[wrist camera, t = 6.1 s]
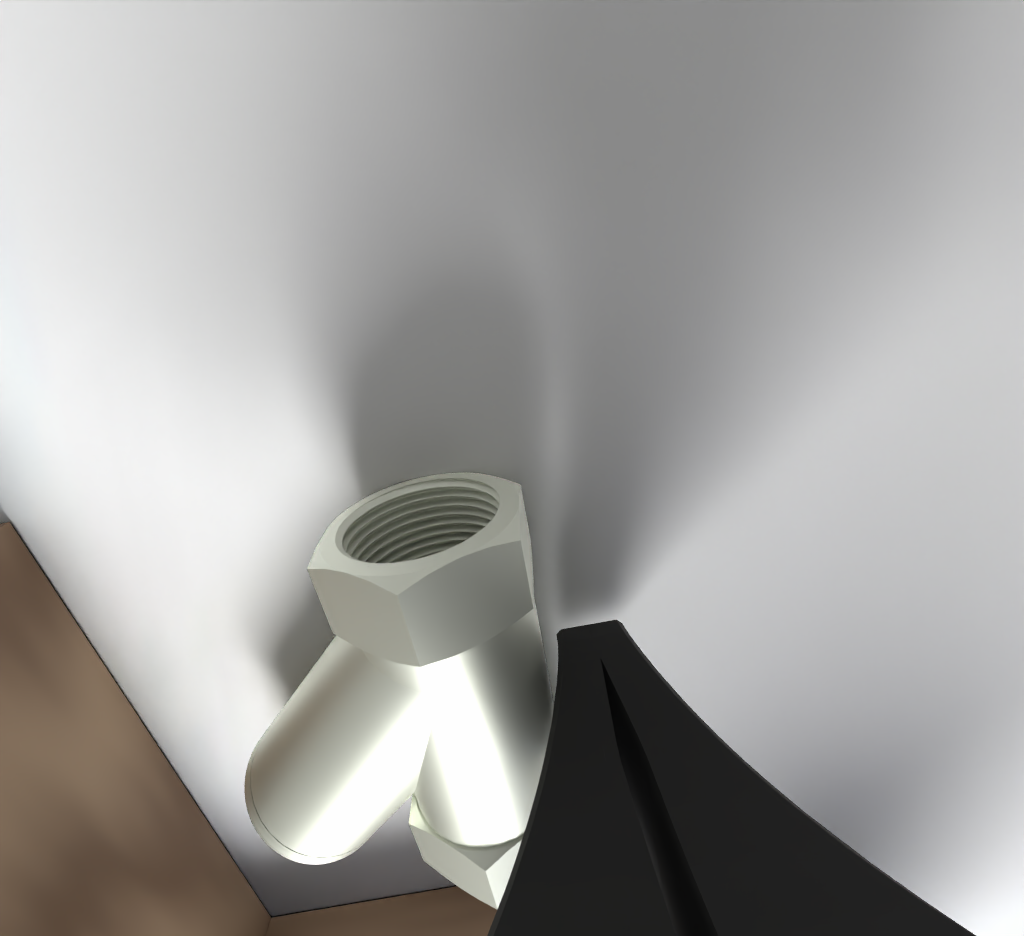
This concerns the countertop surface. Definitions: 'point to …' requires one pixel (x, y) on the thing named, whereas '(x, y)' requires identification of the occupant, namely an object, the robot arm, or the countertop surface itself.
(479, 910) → the corner arena
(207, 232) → the countertop surface
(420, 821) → the pipe fitting
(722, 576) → the countertop surface
